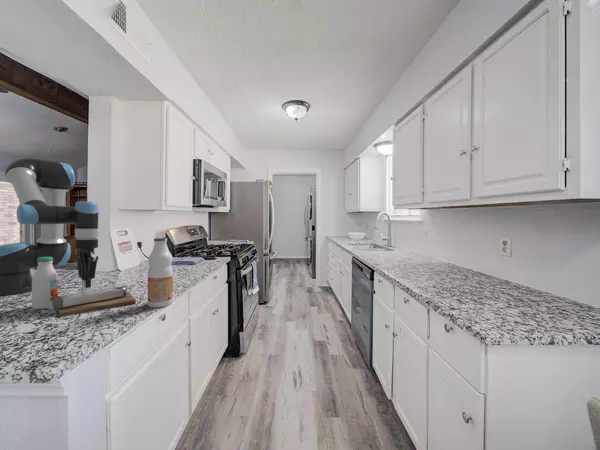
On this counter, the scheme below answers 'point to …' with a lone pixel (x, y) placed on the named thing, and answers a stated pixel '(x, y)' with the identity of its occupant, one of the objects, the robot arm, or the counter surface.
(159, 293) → the fruit juice
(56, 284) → the milk bottle
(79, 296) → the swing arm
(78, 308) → the label board
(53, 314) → the counter surface
